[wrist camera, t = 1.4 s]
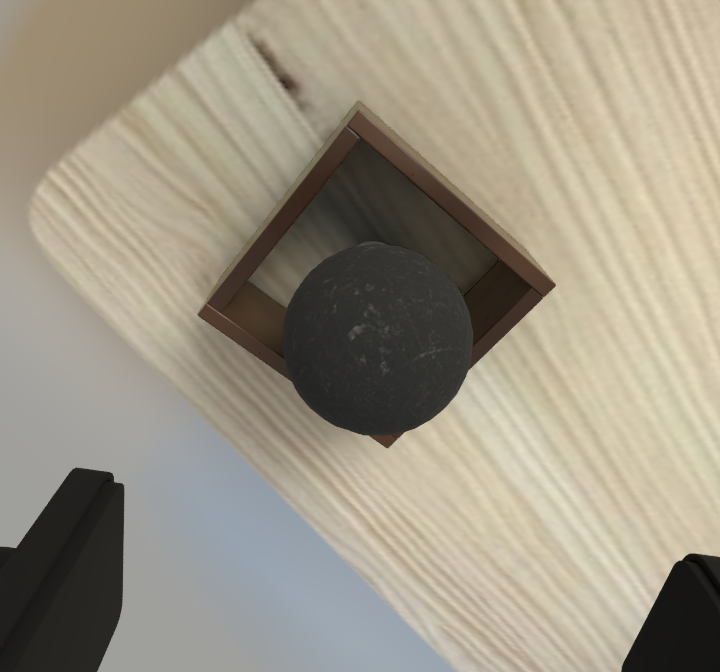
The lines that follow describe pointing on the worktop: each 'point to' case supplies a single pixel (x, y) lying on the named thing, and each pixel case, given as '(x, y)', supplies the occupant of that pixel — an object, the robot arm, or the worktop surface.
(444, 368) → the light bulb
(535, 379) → the worktop surface
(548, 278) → the crate
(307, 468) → the worktop surface
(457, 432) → the worktop surface
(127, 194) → the worktop surface
